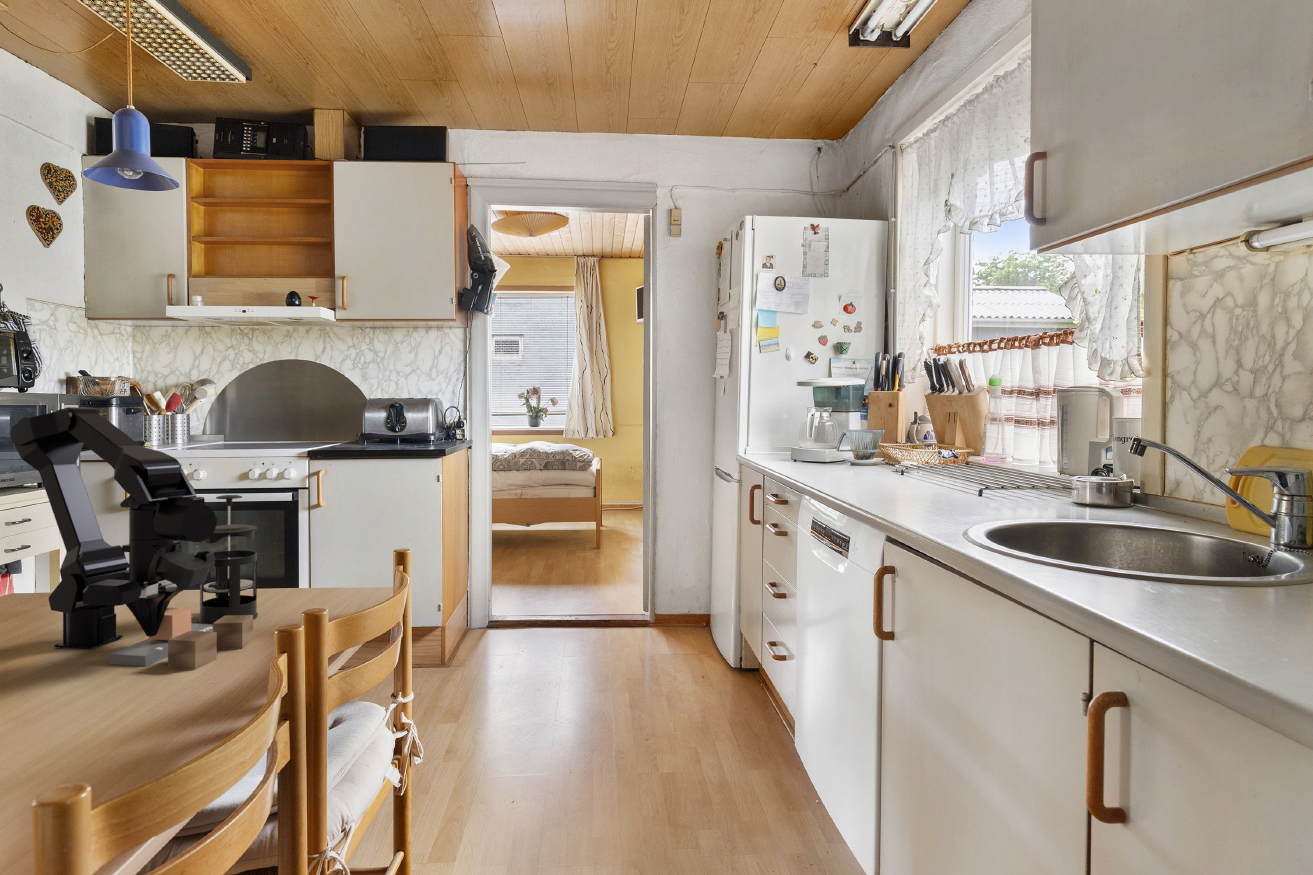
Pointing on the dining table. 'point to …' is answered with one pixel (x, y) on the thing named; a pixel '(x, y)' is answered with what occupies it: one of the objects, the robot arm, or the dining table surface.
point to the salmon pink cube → (174, 623)
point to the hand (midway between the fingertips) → (151, 635)
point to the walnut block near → (192, 650)
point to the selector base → (148, 650)
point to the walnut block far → (234, 631)
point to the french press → (230, 575)
